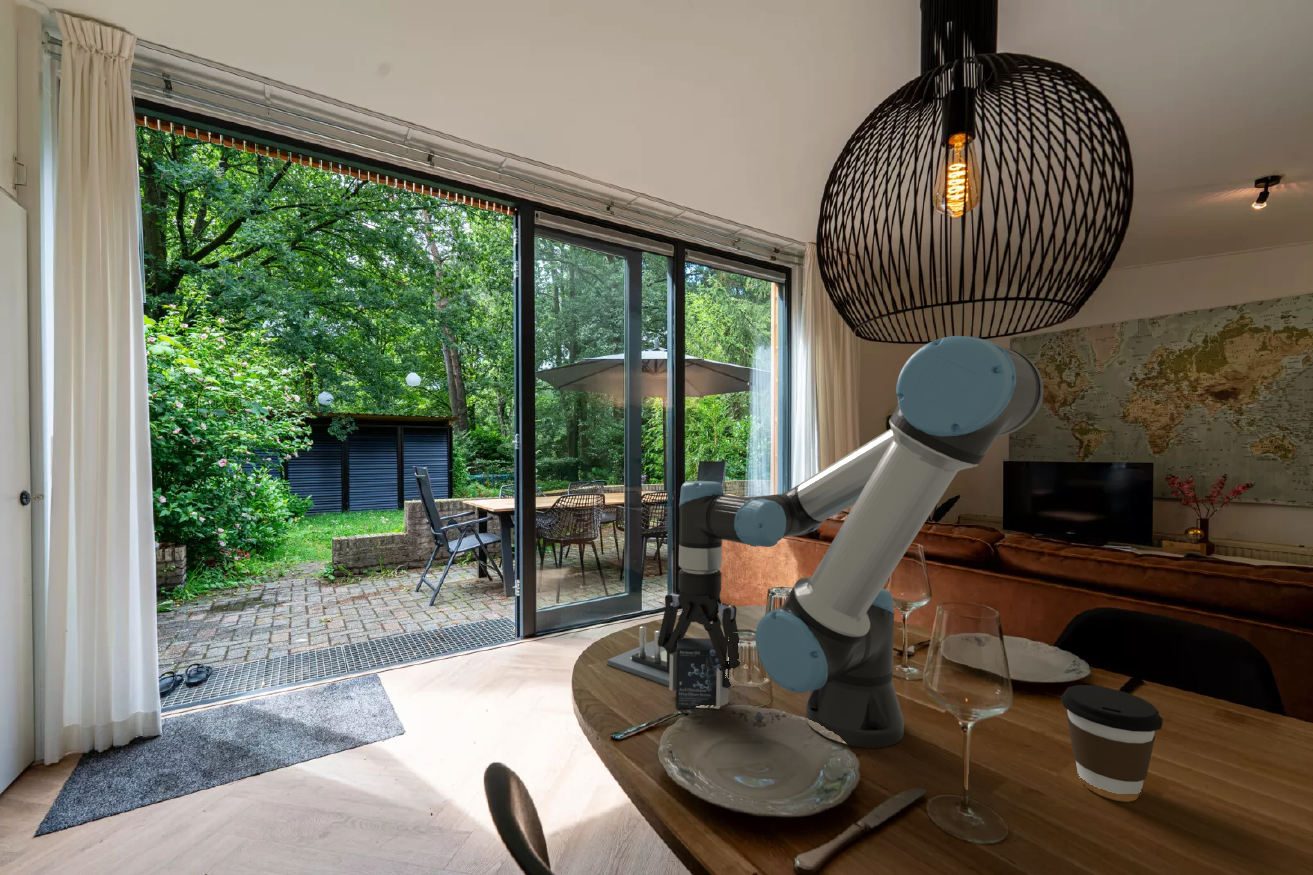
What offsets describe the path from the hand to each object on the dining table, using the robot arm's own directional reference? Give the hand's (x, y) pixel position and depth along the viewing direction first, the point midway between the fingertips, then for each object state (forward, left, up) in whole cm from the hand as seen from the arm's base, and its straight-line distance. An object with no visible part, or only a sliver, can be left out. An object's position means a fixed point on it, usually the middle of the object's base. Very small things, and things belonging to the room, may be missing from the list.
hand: (698, 696), depth 104 cm
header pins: (+14, -6, 0) cm, 15 cm away
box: (0, 0, -1) cm, 1 cm away
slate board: (+14, -12, -1) cm, 18 cm away
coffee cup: (-57, -15, -1) cm, 59 cm away
